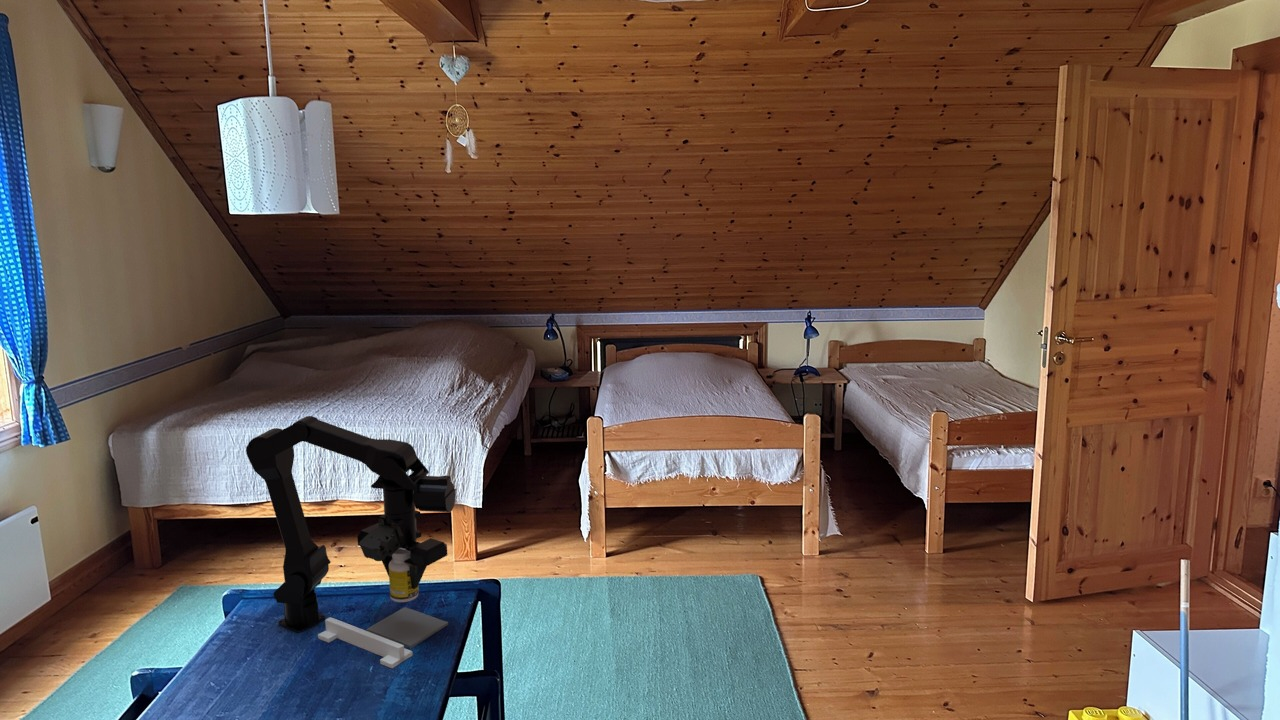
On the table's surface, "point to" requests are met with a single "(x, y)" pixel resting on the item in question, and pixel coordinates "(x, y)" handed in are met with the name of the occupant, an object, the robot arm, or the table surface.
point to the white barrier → (366, 642)
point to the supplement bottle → (401, 578)
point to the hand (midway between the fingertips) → (404, 584)
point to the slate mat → (407, 627)
